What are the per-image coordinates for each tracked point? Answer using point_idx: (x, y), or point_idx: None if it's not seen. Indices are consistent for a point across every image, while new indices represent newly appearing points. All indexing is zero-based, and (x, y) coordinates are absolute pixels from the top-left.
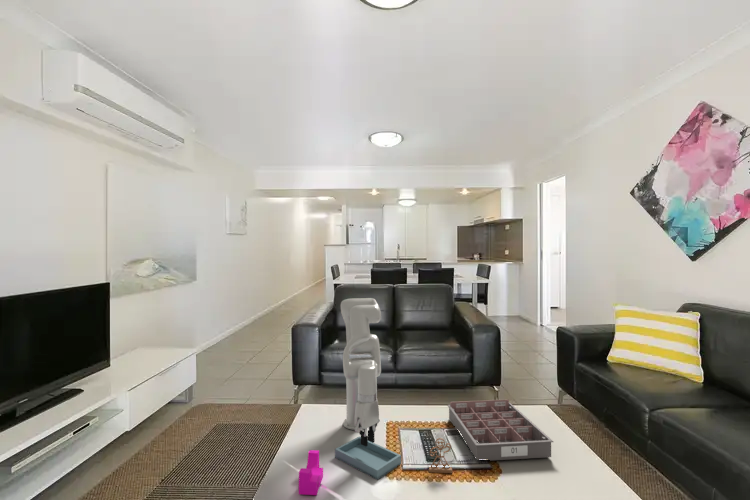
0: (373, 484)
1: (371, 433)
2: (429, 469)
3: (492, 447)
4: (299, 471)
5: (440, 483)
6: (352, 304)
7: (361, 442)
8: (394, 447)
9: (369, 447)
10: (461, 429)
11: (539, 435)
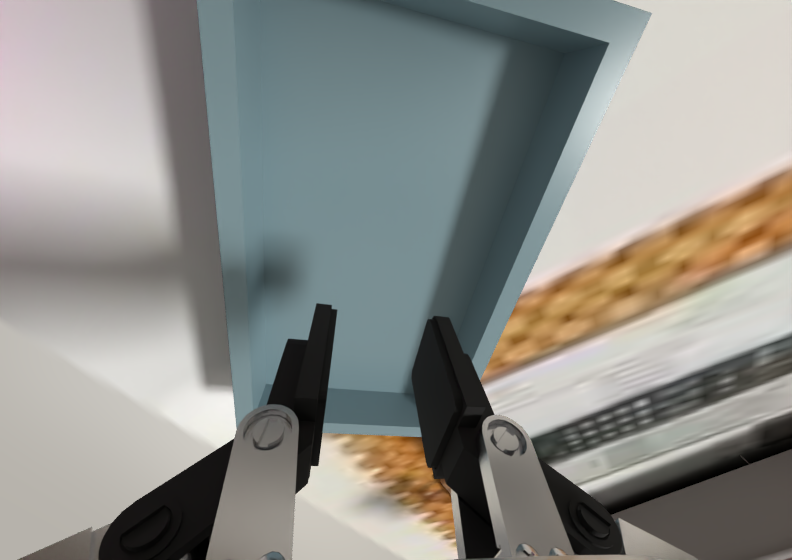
0: (211, 386)
1: (432, 444)
2: (442, 484)
3: None
4: None
5: (393, 509)
6: None
7: (285, 348)
8: (598, 303)
9: (515, 200)
10: (753, 516)
11: None
